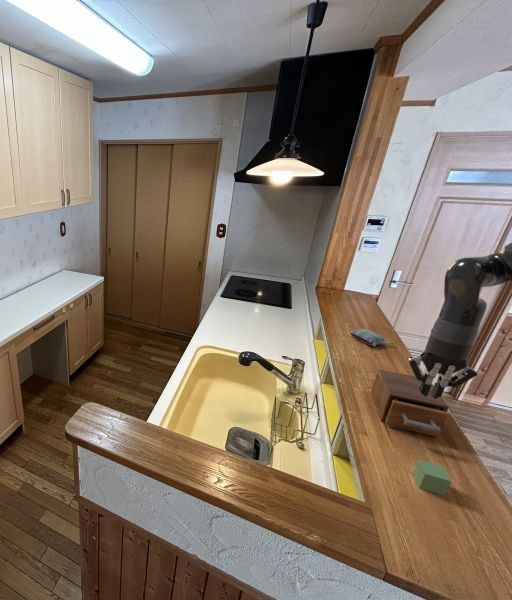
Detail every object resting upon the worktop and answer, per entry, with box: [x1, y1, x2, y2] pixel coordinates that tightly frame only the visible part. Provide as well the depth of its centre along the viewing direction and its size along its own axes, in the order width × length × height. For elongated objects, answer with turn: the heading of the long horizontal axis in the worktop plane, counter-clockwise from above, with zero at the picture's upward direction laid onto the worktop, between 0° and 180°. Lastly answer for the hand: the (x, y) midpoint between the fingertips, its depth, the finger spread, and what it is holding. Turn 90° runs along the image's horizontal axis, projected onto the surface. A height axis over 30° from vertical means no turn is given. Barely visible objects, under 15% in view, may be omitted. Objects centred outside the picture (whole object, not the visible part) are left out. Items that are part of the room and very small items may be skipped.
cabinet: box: [370, 369, 449, 423], centre depth 98 cm, size 15×13×10 cm
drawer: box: [384, 397, 449, 438], centre depth 93 cm, size 18×11×8 cm, turn 153°
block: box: [412, 459, 452, 497], centre depth 75 cm, size 4×4×4 cm
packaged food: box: [349, 328, 391, 347], centre depth 141 cm, size 9×12×5 cm
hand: (428, 395), depth 85 cm, fingers closed
